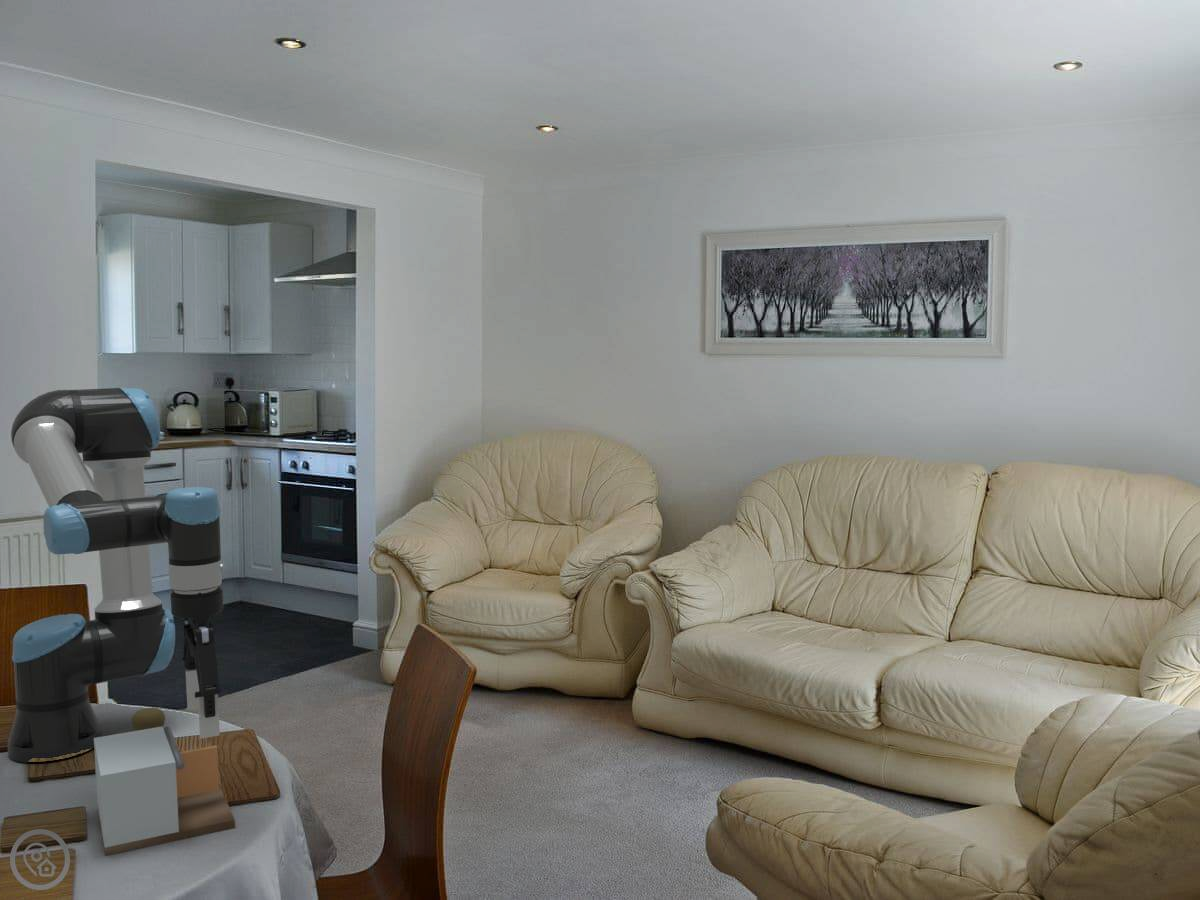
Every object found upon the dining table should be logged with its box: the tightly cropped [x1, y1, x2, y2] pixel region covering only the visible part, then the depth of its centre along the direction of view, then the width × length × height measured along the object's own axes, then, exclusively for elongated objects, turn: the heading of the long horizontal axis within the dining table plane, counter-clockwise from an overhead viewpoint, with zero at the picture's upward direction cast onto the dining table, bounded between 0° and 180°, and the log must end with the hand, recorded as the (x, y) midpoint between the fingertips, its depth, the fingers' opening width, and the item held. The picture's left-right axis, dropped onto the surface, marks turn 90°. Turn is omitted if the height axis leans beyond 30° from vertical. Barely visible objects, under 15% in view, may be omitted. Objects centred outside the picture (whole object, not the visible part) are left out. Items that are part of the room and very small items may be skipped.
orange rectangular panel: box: [176, 745, 220, 798], centre depth 162 cm, size 1×16×7 cm, turn 118°
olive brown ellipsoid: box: [131, 707, 166, 731], centre depth 180 cm, size 6×6×11 cm
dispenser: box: [93, 725, 184, 847], centre depth 161 cm, size 16×11×11 cm
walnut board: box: [96, 784, 236, 856], centre depth 163 cm, size 16×18×1 cm
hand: (203, 722), depth 164 cm, fingers open, 13 cm apart
